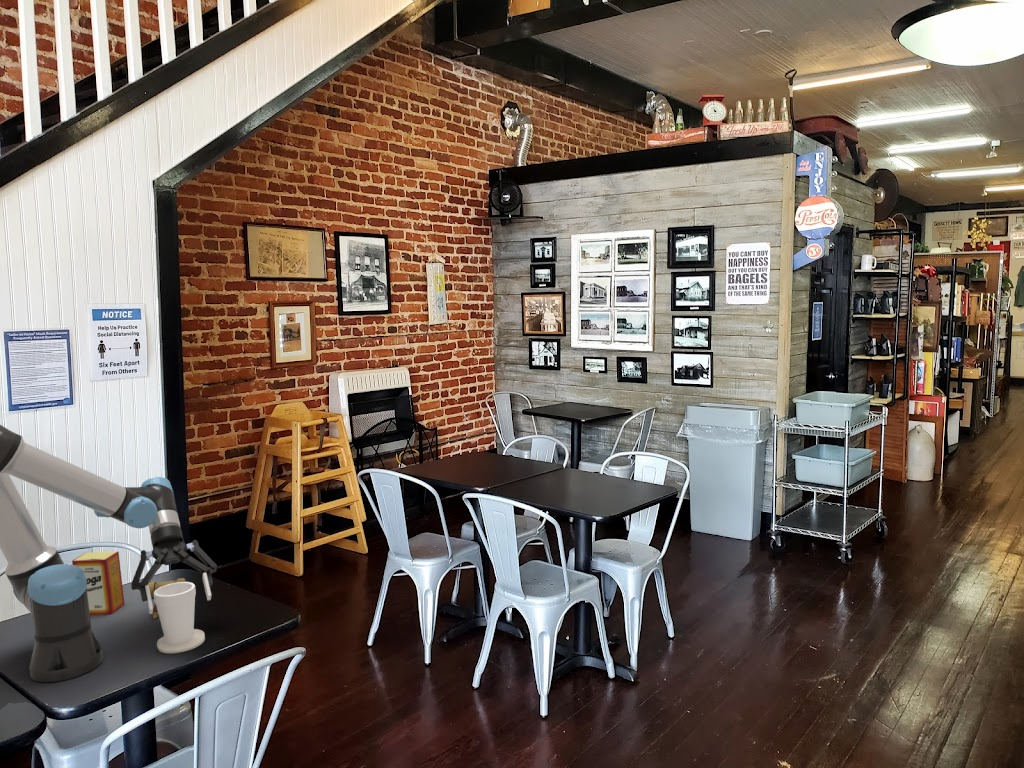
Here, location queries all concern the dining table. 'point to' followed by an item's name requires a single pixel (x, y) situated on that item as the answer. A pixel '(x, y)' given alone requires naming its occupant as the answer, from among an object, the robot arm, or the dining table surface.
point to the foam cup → (176, 611)
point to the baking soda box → (102, 581)
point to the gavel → (154, 586)
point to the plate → (191, 644)
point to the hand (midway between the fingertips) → (180, 604)
